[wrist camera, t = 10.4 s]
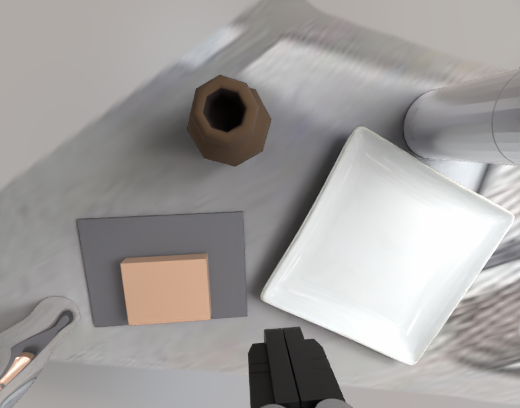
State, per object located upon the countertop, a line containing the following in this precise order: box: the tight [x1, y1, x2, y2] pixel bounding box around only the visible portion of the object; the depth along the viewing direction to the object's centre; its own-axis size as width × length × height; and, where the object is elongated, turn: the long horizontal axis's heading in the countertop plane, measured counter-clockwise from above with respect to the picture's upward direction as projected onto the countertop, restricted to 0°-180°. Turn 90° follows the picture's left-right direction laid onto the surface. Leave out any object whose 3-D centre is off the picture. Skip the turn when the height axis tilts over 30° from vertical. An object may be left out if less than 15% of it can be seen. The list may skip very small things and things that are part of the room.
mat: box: [77, 211, 247, 327], centre depth 41 cm, size 22×16×1 cm
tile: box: [120, 253, 212, 326], centre depth 40 cm, size 2×9×11 cm
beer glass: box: [0, 296, 80, 408], centre depth 34 cm, size 7×7×15 cm
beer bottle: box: [187, 75, 271, 166], centre depth 26 cm, size 8×8×24 cm
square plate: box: [260, 126, 515, 366], centre depth 42 cm, size 27×27×4 cm
